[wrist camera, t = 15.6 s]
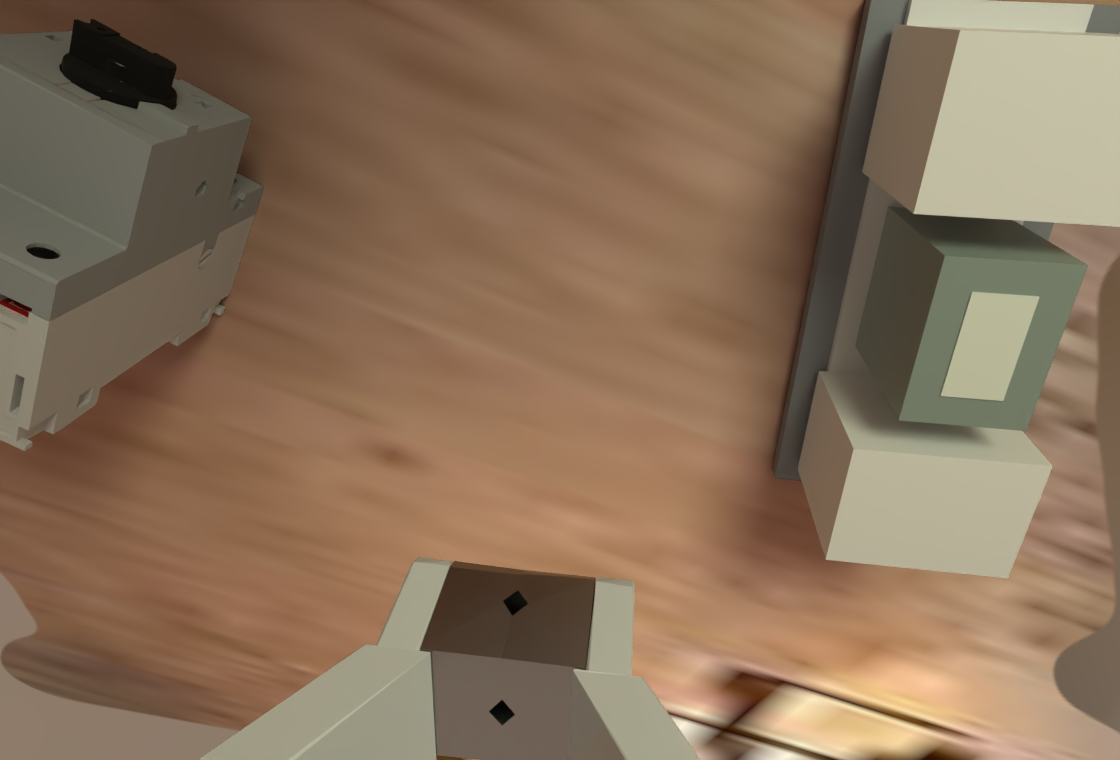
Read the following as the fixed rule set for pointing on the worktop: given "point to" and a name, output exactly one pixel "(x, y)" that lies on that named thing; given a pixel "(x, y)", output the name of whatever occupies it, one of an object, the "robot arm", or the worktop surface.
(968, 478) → the rail base
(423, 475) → the worktop surface
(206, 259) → the circuit breaker
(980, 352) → the block
